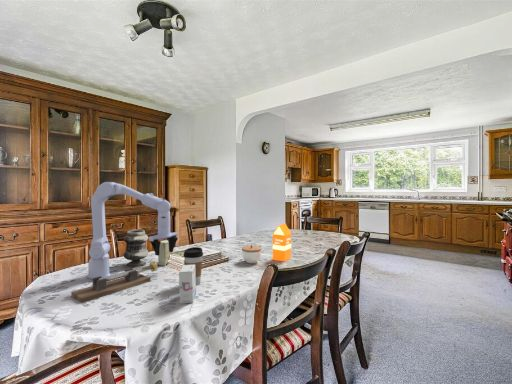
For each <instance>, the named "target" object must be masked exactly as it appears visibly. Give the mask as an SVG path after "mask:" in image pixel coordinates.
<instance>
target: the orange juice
mask: <svg viewBox="0 0 512 384" xmlns="http://www.w3.org/2000/svg"><path fill="white" fill-rule="evenodd" d="M289 259H292V232H291V231H290V228H288V226H287V223H283V224H278V226H277V227H276V229H275V230H274V232H273V233H272V260H274V261H278V262H279V261H281V262H286V261H288V260H289Z"/></svg>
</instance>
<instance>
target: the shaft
mask: <svg viewBox="0 0 512 384" xmlns="http://www.w3.org/2000/svg"><path fill="white" fill-rule="evenodd" d="M158 266H159V265H158V262H157V261H150V263H149V265H144V266H140V267H138V268H137V267H136V268H132V269H133V270H129V271H126V272H125V271H121V272H119V273H114V274H112V275H110V276H107V277H103V278H99V279H98V280H100V279H104V278H105V279H106V282H108V281H112V280H116V279H119V278H123V277H125V276H129V272H130V271H134V270H138V273H139V274H141V273H143V272H145V271H151V272H155V271H158V268H159V267H158Z"/></svg>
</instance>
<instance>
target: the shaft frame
mask: <svg viewBox="0 0 512 384" xmlns="http://www.w3.org/2000/svg"><path fill="white" fill-rule="evenodd" d="M133 269H134V268H133V267H129V268H126V269H124V272H126V271H129V270H133ZM99 278H102V277H101V276H99V277H95V278H92V279H91V280H92V285H91V286H87V287H84V288H83V287H82V288H80V289H77V290H73V291H71V297H73V298H74V299H76V300H77V301H78V302H80V303H82V304H83V303H86V302H90V301H92V300H95V299H98V298H99V299H100V298H102V297H105V296H108V295H111V294H114V293H117V292H121V291H125V290H127V289H130V288H133V287H137V286H140V285H142V284H146V283H149V282H151V277H150V276H146V275H145V274H141V273H138V270H134V271H130V272H129V276H125V277H122V278H118V279H115V280H111V281H107V282H106V279H105V278H104V279H100V280H98V279H99Z"/></svg>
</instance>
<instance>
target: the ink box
mask: <svg viewBox="0 0 512 384" xmlns="http://www.w3.org/2000/svg"><path fill="white" fill-rule="evenodd" d="M178 282H179V286H178V287H179V304H190V303H191V304H192V303H194V300H195V298H196V295H197V289H196V288H197V287H196V286H197V285H196V276H195V265H185V264H183V265H182V267H181V269H180V270H179V271H178Z"/></svg>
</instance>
